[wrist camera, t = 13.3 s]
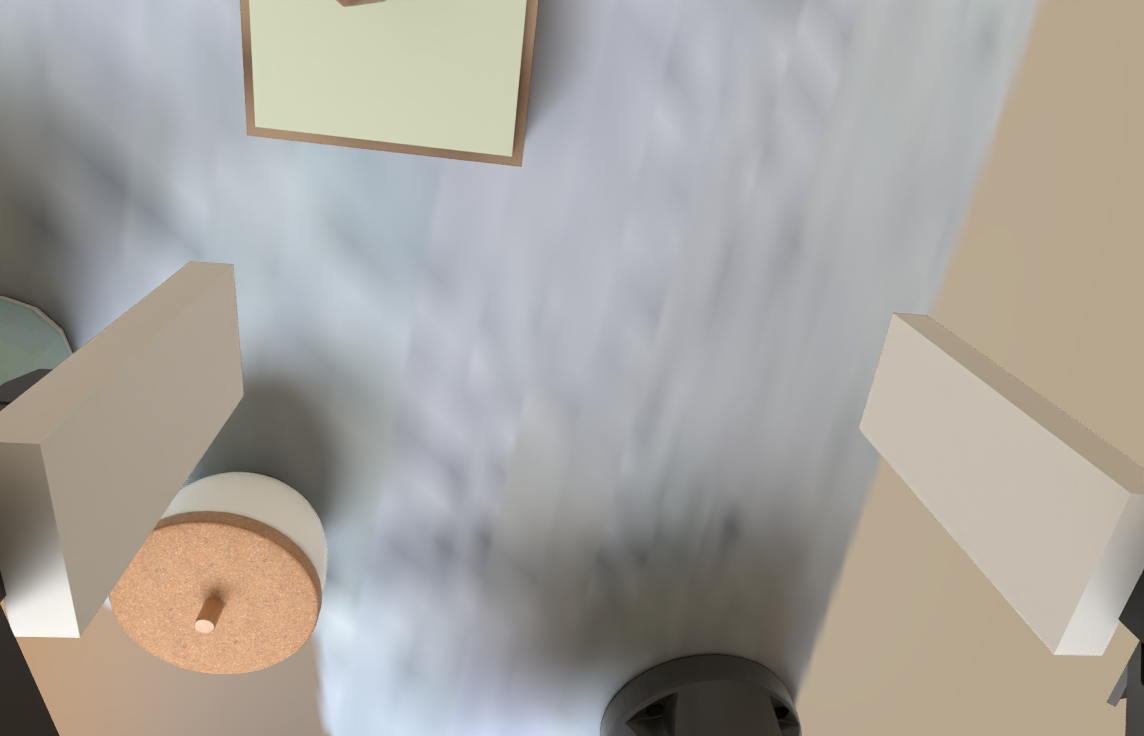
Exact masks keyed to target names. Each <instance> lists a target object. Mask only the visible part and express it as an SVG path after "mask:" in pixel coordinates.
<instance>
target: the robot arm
mask: <svg viewBox="0 0 1144 736" xmlns="http://www.w3.org/2000/svg"><path fill="white" fill-rule="evenodd" d="M243 396H244V392H243V379H242V366H241V353H240V340H239V328H238V315H237V302H236V289H235V277H234V264H223V263H210V262H196V261H190V262H189V263H187V264H186V265H185V266H184V267H182V268H181V269H180V270H179V271H177V272H176V273H175V274H174V275H172V276H171V277H170V278H169V279H167V280H166V281H165V282H163V283H162V284H161V285H160V286H158V287H157V288H156V289H155V290H153V291H152V292H151V293H150V294H148V295H147V296H146V297H144V298H143V299H142V300H141V301H139V302H138V303H137V304H136V305H134V306H133V307H132V308H131V309H129V310H128V311H127V312H125V313H124V314H123V315H122V316H120V317H119V318H118V319H117V320H115V321H114V322H113V323H112V324H110V325H109V326H108V327H106V328H105V329H104V330H103V331H101V332H100V333H99V334H98V335H96V336H95V337H94V338H93V339H91V340H90V341H89V342H87V343H86V344H85V345H84V346H82V347H81V348H80V349H79V350H77V351H76V352H75V353H74V354H72V355H71V356H70V357H68V358H67V359H66V360H65V361H63V362H62V363H61V364H60V365H58V366H57V367H56V368H55V369H37V370H35V371H32V372H30V373H27V374H25V375H22V376H20V377H17V378H15V379H12V380H10V381H7V382H5V383H3V384H2V385H1V386H0V602H1V601H2V600H3V599H4V602H5V606H6V610H7V614H8V618H9V622H10V625H9V623H8V620H7V618H6V616H5V614H4V611H3V609H2V607H1V605H0V736H59V734H58V732H57V729H56V727H55V725H54V723H53V721H52V718H51V716H50V714H49V711H48V709H47V707H46V705H45V703H44V700H43V698H42V696H41V694H40V691H39V689H38V687H37V685H36V683H35V680H34V678H33V676H32V674H31V672H30V669H29V667H28V665H27V663H26V660H25V658H24V656H23V654H22V651H21V649H20V647H19V645H18V643H17V641H16V638H15V636H22V637H24V636H25V637H81V635H82V634H83V632H84V631H85V629H86V628H87V626H88V625H89V623H90V622H91V620H92V619H93V618H94V616H95V614H96V613H97V612H98V610H99V609H100V607H101V606H102V604H103V603H104V601H105V600H106V598H107V597H108V595H109V594H110V592H111V591H112V590H113V588H114V587H115V585H116V584H117V582H118V581H119V579H120V578H121V576H122V575H123V573H124V572H125V570H126V569H127V567H128V566H129V564H130V563H131V561H132V560H133V559H134V557H135V556H136V554H137V553H138V551H139V550H140V548H141V547H142V545H143V544H144V542H145V541H146V539H147V538H148V536H149V535H150V533H151V532H152V530H153V529H154V528H155V526H156V525H157V523H158V522H159V520H160V519H161V517H162V516H163V514H164V513H165V511H166V510H167V508H168V507H169V505H170V504H171V502H172V501H173V499H174V498H175V497H176V495H177V494H178V492H179V491H180V489H181V488H182V486H183V485H184V483H185V482H186V480H187V479H188V477H189V476H190V474H191V473H192V471H193V470H194V468H195V467H196V466H197V464H198V463H199V461H200V460H201V458H202V457H203V455H204V454H205V452H206V451H207V449H208V448H209V446H210V445H211V443H212V442H213V440H214V439H215V437H216V436H217V435H218V433H219V432H220V430H221V429H222V427H223V426H224V424H225V423H226V421H227V420H228V418H229V417H230V415H231V414H232V412H233V411H234V409H235V408H236V406H237V405H238V404H239V402H240V401H241V399H242V398H243ZM859 430H860V431H861V432H862V433H863V435H864V436H865V437H866V438H867V439H868V440H869V441H870V443H871V444H872V445H873V446H874V447H875V448H876V450H877V451H878V452H879V453H880V454H881V455H882V457H883V458H884V459H885V460H886V461H887V462H888V463H889V465H890V466H891V467H892V468H893V469H894V470H895V472H896V473H897V474H898V475H899V476H900V477H901V478H902V480H903V481H904V482H905V483H906V484H907V485H908V487H909V488H910V489H911V490H912V491H913V492H914V493H915V495H916V496H917V497H918V498H919V499H920V500H921V502H922V503H923V504H924V505H925V506H926V507H927V509H928V510H929V511H930V512H931V513H932V514H933V515H934V517H935V518H936V519H937V520H938V521H939V522H940V524H941V525H942V526H943V527H944V528H945V529H946V531H947V532H948V533H949V534H950V535H951V536H952V537H953V539H954V540H955V541H956V542H957V543H958V544H959V546H960V547H961V548H962V549H963V550H964V551H965V553H966V554H967V555H968V556H969V557H970V558H971V559H972V561H973V562H975V564H976V565H977V566H978V568H979V569H980V570H981V571H982V572H983V573H984V574H985V575H986V577H987V578H988V579H989V580H990V581H991V583H992V584H993V585H994V586H995V587H996V588H997V589H998V591H999V592H1000V593H1001V594H1002V595H1003V596H1004V597H1005V599H1006V600H1007V601H1008V602H1009V603H1010V604H1011V606H1012V607H1013V608H1014V609H1015V610H1016V611H1017V613H1018V614H1019V615H1020V616H1021V617H1022V618H1023V620H1024V621H1025V622H1026V623H1027V624H1028V625H1029V627H1031V629H1032V630H1033V631H1034V632H1035V633H1036V635H1038V637H1039V638H1040V639H1041V640H1042V642H1043V643H1044V644H1045V645H1046V646H1047V647H1048V649H1050V651H1051V652H1052V653H1053V654H1054V655H1101V656H1102V655H1103V653H1104V651H1105V649H1106V647H1107V645H1108V643H1109V641H1110V639H1111V637H1112V635H1113V634H1114V631H1115V629H1116V627H1117V626H1118V624H1119V622H1120V621H1121V622H1122V623H1123V624H1124V625H1125V626H1126V627H1127V628H1128V629H1129V630H1130V631H1131V632H1132V633H1133V634H1134V635H1135V636H1136V637H1137V638H1138V639H1139V640H1140V641H1139V643H1138V645H1137V647H1136V648H1135V650H1134V652H1133V654H1132V656H1131V658H1130V660H1129V661H1128V663H1127V665H1126V667H1125V669H1124V671H1123V673H1122V675H1121V676H1120V678H1119V680H1118V682H1117V684H1116V686H1115V688H1114V689H1113V691H1112V693H1111V695H1110V697H1109V699H1108V701H1107V703H1109V704H1111V705H1113V706H1116V705H1117V704H1118V702H1119V700H1120V699H1123V698H1127V702H1126V705H1127V706H1126V735H1125V736H1144V468H1143V467H1142V466H1140V465H1139V464H1138V463H1136V462H1135V461H1133V460H1132V459H1130V458H1129V457H1128V456H1126V455H1125V454H1123V453H1122V452H1121V451H1119V450H1117V449H1116V448H1115V447H1113V446H1112V445H1110V444H1109V443H1108V442H1106V441H1105V440H1104V439H1102V438H1101V437H1099V436H1098V435H1096V434H1095V433H1094V432H1092V431H1091V430H1089V429H1088V428H1086V427H1085V426H1084V425H1082V424H1081V423H1079V422H1078V421H1077V420H1075V419H1074V418H1072V417H1071V416H1069V415H1068V414H1066V413H1065V412H1064V411H1062V410H1061V409H1060V408H1058V407H1057V406H1055V405H1054V404H1052V403H1051V402H1050V401H1048V400H1047V399H1045V398H1044V397H1042V396H1041V395H1040V394H1038V393H1037V392H1035V391H1034V390H1033V389H1031V388H1030V387H1028V386H1027V385H1025V384H1024V383H1023V382H1021V381H1020V380H1018V379H1017V378H1015V377H1014V376H1013V375H1011V374H1010V373H1008V372H1007V371H1005V370H1004V369H1002V368H1001V367H1000V366H998V365H997V364H995V363H994V362H993V361H991V360H990V359H988V358H987V357H986V356H984V355H982V354H981V353H980V352H978V351H977V350H976V349H974V348H973V347H971V346H970V345H968V344H967V343H966V342H964V341H963V340H961V339H960V338H959V337H957V336H956V335H954V334H953V333H952V332H950V331H948V330H947V329H946V328H944V327H943V326H941V325H940V324H939V323H937V322H936V321H934V320H933V319H932V318H930V317H929V316H926V315H913V314H899V313H893V315H892V318H891V322H890V325H889V328H888V332H887V335H886V339H885V342H884V345H883V349H882V352H881V356H880V359H879V362H878V366H877V369H876V372H875V376H874V379H873V383H872V386H871V389H870V393H869V396H868V400H867V403H866V406H865V410H864V413H863V417H862V420H861V423H860V427H859ZM10 626H11V627H10ZM600 736H802V732H801V725H800V721H799V717H798V714H797V712H796V709H795V707H794V704H793V702H792V699H791V697H790V694H789V692H788V690H787V688H786V686H785V685H784V684H783V682H782V681H781V680H780V679H779V678H778V677H777V676H776V675H775V674H774V673H773V672H771V671H770V670H768V669H767V668H765V667H763V666H761V665H759V664H757V663H755V662H752V661H749V660H746V659H742V658H738V657H732V656H724V655H702V656H694V657H687V658H683V659H678V660H675V661H671V662H668V663H665V664H663V665H660V666H658V667H655V668H653V669H651V670H649V671H647V672H645V673H644V674H642V675H640V676H639V677H637V678H636V679H634V680H633V681H631V682H630V683H629V684H628V685H626V686H625V687H624V688H623V689H622V690H621V691H620V692H619V693H618V694H617V695H616V696H615V698H614V699H613V700H612V702H611V703H610V704H609V706H608V708H607V710H606V712H605V714H604V716H603V719H602V723H601V728H600Z"/></svg>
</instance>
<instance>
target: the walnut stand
mask: <svg viewBox="0 0 1144 736" xmlns="http://www.w3.org/2000/svg"><path fill="white" fill-rule="evenodd" d="M537 9H538V0H386V1H384V2H378V3H371V4H364V5H357V6H348V7H343V6H342V5H341V4H339V3H338V2H337V1H336V0H240V10H241V29H242V48H243V66H244V85H245V104H246V123H247V135H249V136H258V137H266V138H275V139H284V140H292V141H301V142H310V143H319V144H327V145H336V146H345V147H353V148H362V149H371V150H380V151H388V152H397V153H406V154H414V155H423V156H432V157H441V158H449V159H458V160H467V161H476V162H484V163H493V164H502V165H510V166H519V167H522V158H523V148H524V139H525V129H526V119H527V109H528V99H529V89H530V79H531V69H532V59H533V49H534V39H535V29H536V19H537Z"/></svg>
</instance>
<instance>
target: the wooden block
mask: <svg viewBox="0 0 1144 736" xmlns="http://www.w3.org/2000/svg"><path fill="white" fill-rule="evenodd" d="M336 1H337V2H338V3H339V4H341V5H342V6H343V7H348V6H357V5H364V4H371V3H378V2H384V1H386V0H336Z"/></svg>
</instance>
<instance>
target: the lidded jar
mask: <svg viewBox="0 0 1144 736" xmlns="http://www.w3.org/2000/svg"><path fill="white" fill-rule="evenodd" d="M327 565H328V550H327V541H326V536H325V533H324V529H323V527H322V524H321V521H320V519H319V517H318V515H317V514H316V512H315V510H314V509H313V508H312V506H311V505H310V504H309V503H308V501H307V500H306V499H305V498H304V497H303V496H302V495H301V494H300V493H299V492H297V491H296V490H295V489H293V488H292V487H290V486H289V485H287V484H285V483H284V482H282V481H280V480H278V479H276V478H273V477H270V476H267V475H262V474H256V473H249V472H229V473H222V474H216V475H212V476H208V477H205V478H202V479H200V480H198V481H196V482H193V483H191V484H189V485H187V486H185V487H183V488H182V489H180V491H179V492H178V494H177V495H176V497H175V498H174V499H173V501H172V502H171V504H170V505H169V507H168V508H167V510H166V511H165V513H164V514H163V516H162V517H161V519H160V520H159V522H158V523H157V525H156V526H155V528H154V529H153V530H152V532H151V533H150V535H149V536H148V538H147V539H146V541H145V542H144V544H143V545H142V547H141V548H140V550H139V551H138V553H137V554H136V556H135V557H134V559H133V560H132V561H131V563H130V564H129V566H128V567H127V569H126V570H125V572H124V573H123V575H122V576H121V578H120V579H119V581H118V582H117V584H116V585H115V587H114V588H113V590H112V591H111V592H110V594H109V600H110V603H111V607H112V610H113V613H114V615H115V617H116V618H117V620H118V622H119V623H120V625H121V626H122V628H123V629H124V630H125V632H126V633H127V634H128V635H129V636H130V637H131V638H132V639H133V640H134V641H135V642H136V643H137V644H139V645H140V646H141V647H143V648H144V649H146V650H147V651H148V652H149V653H151V654H153V655H155V656H157V657H158V658H160V659H162V660H165V661H167V662H170V663H171V664H174V665H176V666H179V667H183V668H187V669H190V670H194V671H199V672H205V673H214V674H238V673H245V672H251V671H256V670H260V669H263V668H266V667H269V666H272V665H274V664H276V663H278V662H280V661H282V660H284V659H286V658H287V657H289V656H290V655H292V654H294V653H295V652H296V651H297V650H298V649H299V648H300V647H302V646H303V644H304V643H305V642H306V641H307V640H308V638H309V637H310V636H311V634H312V632H313V630H314V628H315V626H316V623H317V620H318V616H319V613H320V609H321V604H322V594H323V591H324V587H325V582H326V576H327Z"/></svg>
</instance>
